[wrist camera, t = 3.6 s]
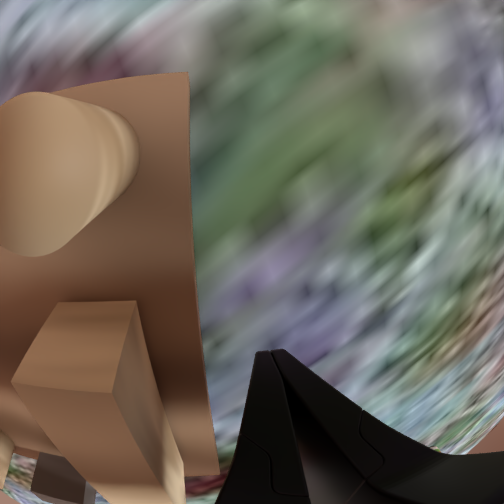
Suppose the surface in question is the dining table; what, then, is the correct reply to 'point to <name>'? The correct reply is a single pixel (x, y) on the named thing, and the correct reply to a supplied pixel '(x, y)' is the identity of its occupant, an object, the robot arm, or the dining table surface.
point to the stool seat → (101, 250)
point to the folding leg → (102, 402)
